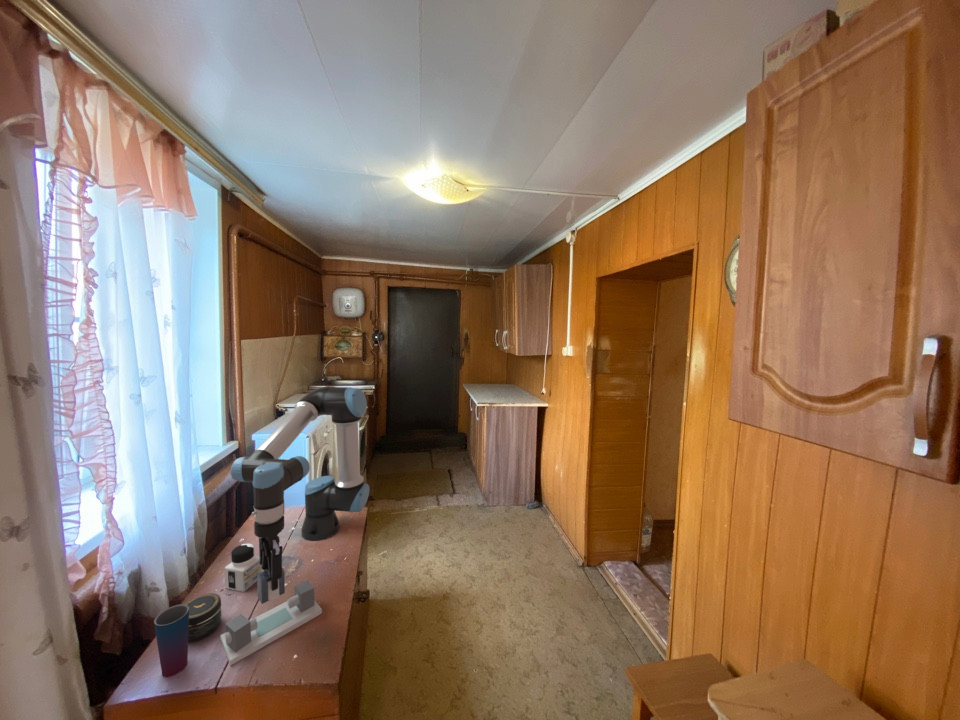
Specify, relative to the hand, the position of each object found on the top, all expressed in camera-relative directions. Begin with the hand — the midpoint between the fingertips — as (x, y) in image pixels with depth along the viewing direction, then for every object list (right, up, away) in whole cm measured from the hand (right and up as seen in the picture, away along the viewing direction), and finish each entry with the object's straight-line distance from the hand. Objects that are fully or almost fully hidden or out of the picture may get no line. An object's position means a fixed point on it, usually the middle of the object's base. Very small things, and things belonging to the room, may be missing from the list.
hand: (271, 594), depth 104 cm
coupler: (0, 0, 0) cm, 0 cm away
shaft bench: (0, -11, +1) cm, 11 cm away
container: (-21, -9, +19) cm, 29 cm away
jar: (-21, -10, 0) cm, 23 cm away
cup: (-18, -11, -12) cm, 24 cm away
